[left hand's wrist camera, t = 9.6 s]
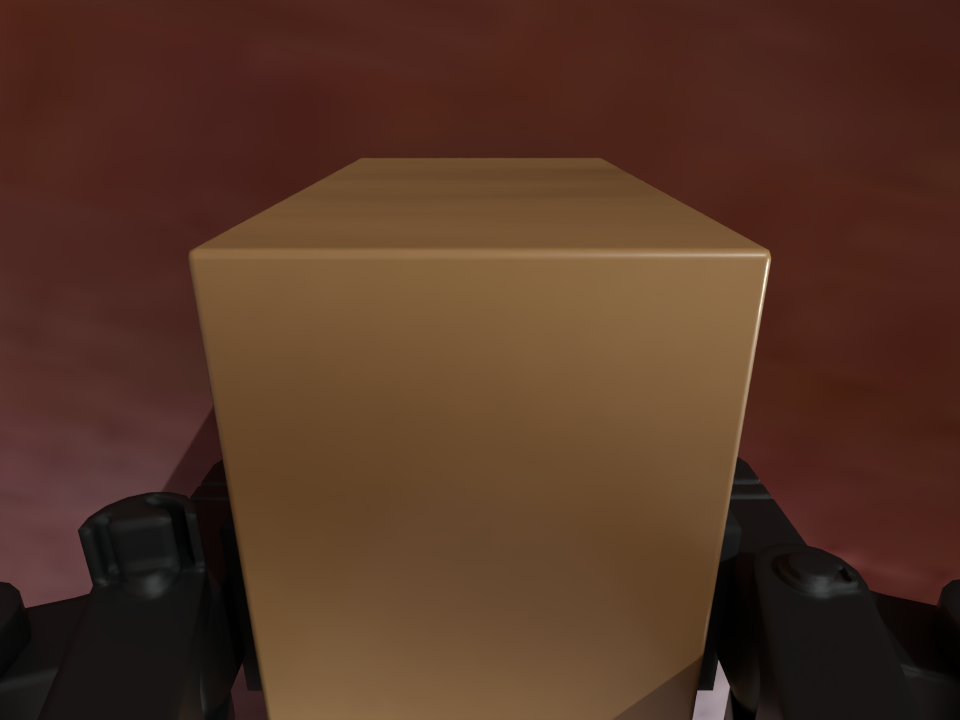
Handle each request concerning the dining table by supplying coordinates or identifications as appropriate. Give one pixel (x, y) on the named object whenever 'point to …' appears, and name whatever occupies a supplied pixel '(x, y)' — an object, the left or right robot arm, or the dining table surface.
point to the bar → (479, 436)
